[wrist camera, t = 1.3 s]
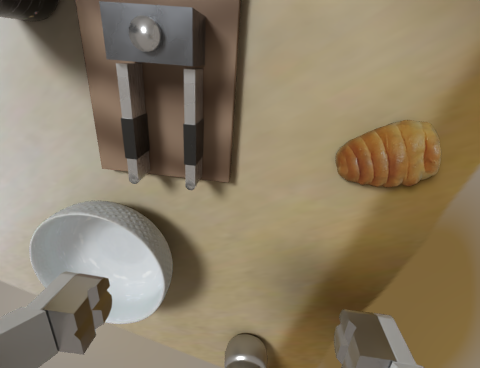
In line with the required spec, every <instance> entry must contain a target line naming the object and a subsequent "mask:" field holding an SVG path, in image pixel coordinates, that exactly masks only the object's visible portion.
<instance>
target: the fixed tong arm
mask: <svg viewBox="0 0 480 368" xmlns="http://www.w3.org/2000/svg"><path fill="white" fill-rule="evenodd" d="M116 69H117V78H118V87H119V95H120V104H121V113H122V118H121V126H122V135H123V143H124V152H125V158H127V165H128V173H129V180H130V182H131V183H133V184H137V183H138V182H139V181H140V180H141V179H142V178H143V177H144V176H145V175H147V174H148V173H149V172H150V160H149V150H150V144H149V130H148V117H147V113H146V108H145V95H144V82H143V69H142V64H139V63H116Z"/></svg>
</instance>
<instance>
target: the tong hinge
mask: <svg viewBox="0 0 480 368" xmlns="http://www.w3.org/2000/svg"><path fill="white" fill-rule="evenodd" d="M99 4H100V12H101V20H102V28H103V36H104V44H105V51H106V59H109V60H121V61H133V62H145V63H157V64H170V65H182V66H204V65H205V34H206V16H204V15H203V14H201V13H200V12H198V11H197V10H195V9H194V8H192V7H178V6H163V5H148V4H134V3H119V2H104V1H99Z"/></svg>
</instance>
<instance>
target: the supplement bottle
mask: <svg viewBox="0 0 480 368" xmlns="http://www.w3.org/2000/svg"><path fill="white" fill-rule="evenodd" d="M57 3H58V0H0V17H5V18H12V19H19V20H27V21H40V20H43V19H45V18H47V17H49V16H50V15H51V14H52V13H53V11H54V10H55V8H56V6H57Z"/></svg>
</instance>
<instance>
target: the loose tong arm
mask: <svg viewBox="0 0 480 368" xmlns="http://www.w3.org/2000/svg"><path fill="white" fill-rule="evenodd" d="M184 120H185V123H184V124H183V140H184V165H185V179H186V188H187V189H188V190H193V189H194V188H195V187H196V185H197V183H198V182H199V180H200V178H201V177H202V157H203V144H204V118H203V69H200V68H187V69H184Z"/></svg>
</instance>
